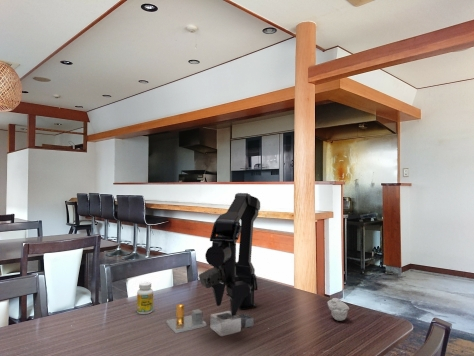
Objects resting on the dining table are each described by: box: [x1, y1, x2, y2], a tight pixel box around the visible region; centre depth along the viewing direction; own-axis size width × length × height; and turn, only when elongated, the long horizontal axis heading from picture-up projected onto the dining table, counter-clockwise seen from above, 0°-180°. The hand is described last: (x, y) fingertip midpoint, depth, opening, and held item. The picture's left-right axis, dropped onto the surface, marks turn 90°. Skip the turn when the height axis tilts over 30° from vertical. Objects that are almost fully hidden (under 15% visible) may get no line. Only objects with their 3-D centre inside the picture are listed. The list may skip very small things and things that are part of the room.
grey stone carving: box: [327, 297, 350, 322], centre depth 111 cm, size 6×7×7 cm
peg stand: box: [165, 303, 207, 334], centre depth 106 cm, size 10×8×6 cm
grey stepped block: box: [238, 313, 255, 328], centre depth 106 cm, size 6×4×3 cm
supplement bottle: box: [136, 281, 154, 315], centre depth 116 cm, size 5×5×10 cm
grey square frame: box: [209, 310, 242, 337], centre depth 103 cm, size 7×7×4 cm
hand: (225, 310), depth 103 cm, fingers open, 9 cm apart
